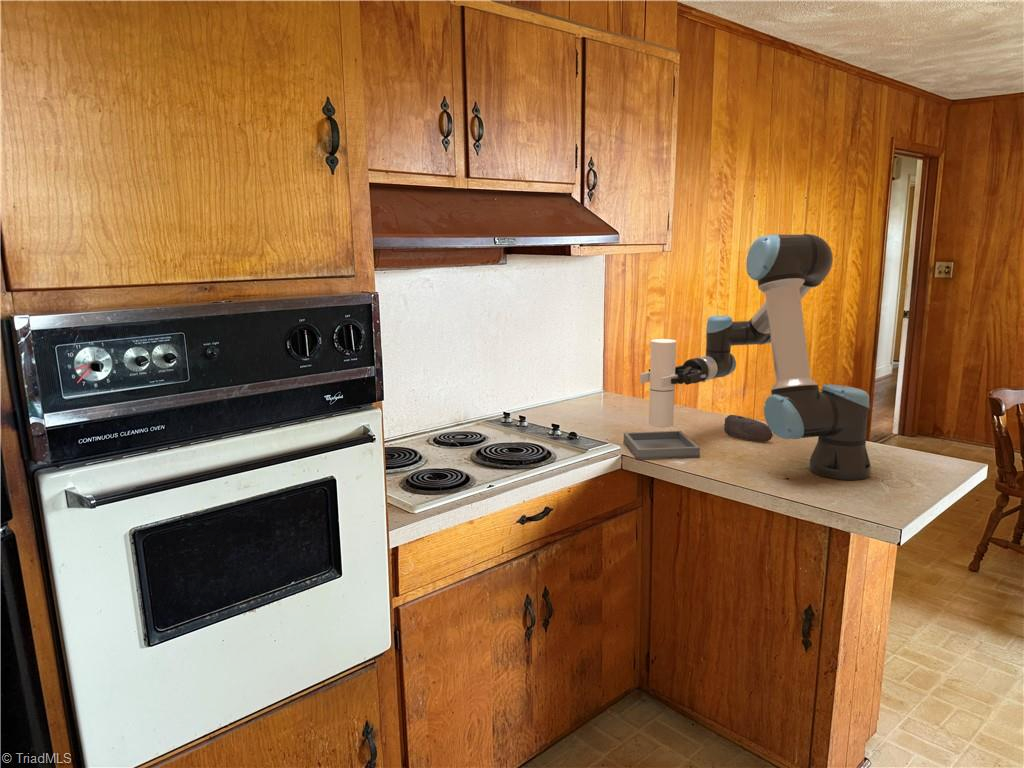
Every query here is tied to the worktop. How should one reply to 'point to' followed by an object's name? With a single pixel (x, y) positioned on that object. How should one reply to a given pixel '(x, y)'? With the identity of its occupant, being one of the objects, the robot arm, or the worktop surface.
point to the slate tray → (661, 445)
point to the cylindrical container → (660, 396)
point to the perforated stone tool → (747, 429)
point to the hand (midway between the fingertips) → (651, 380)
